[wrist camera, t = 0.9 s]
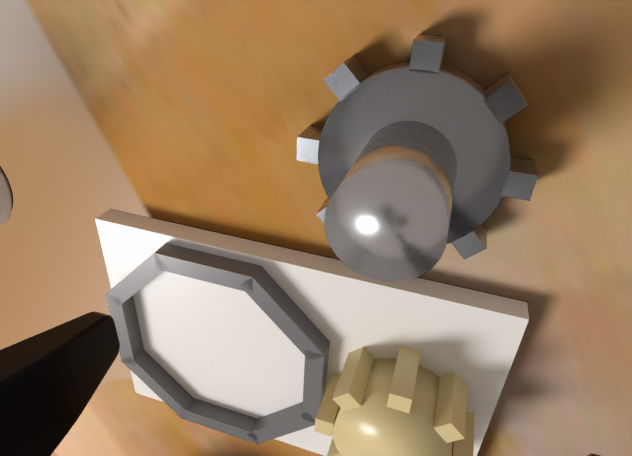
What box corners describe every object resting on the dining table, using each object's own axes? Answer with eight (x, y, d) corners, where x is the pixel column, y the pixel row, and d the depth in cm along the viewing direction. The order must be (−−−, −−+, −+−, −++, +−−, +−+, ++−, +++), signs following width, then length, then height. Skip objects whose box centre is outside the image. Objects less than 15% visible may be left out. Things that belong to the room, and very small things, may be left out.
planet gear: (569, 48, 15) (614, 95, 10) (500, 267, 20) (505, 379, 14) (313, 23, 17) (236, 51, 12) (305, 226, 22) (246, 311, 17)
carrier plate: (527, 302, 20) (535, 372, 17) (460, 481, 27) (456, 555, 24) (110, 208, 26) (51, 247, 22) (146, 379, 33) (106, 428, 29)
